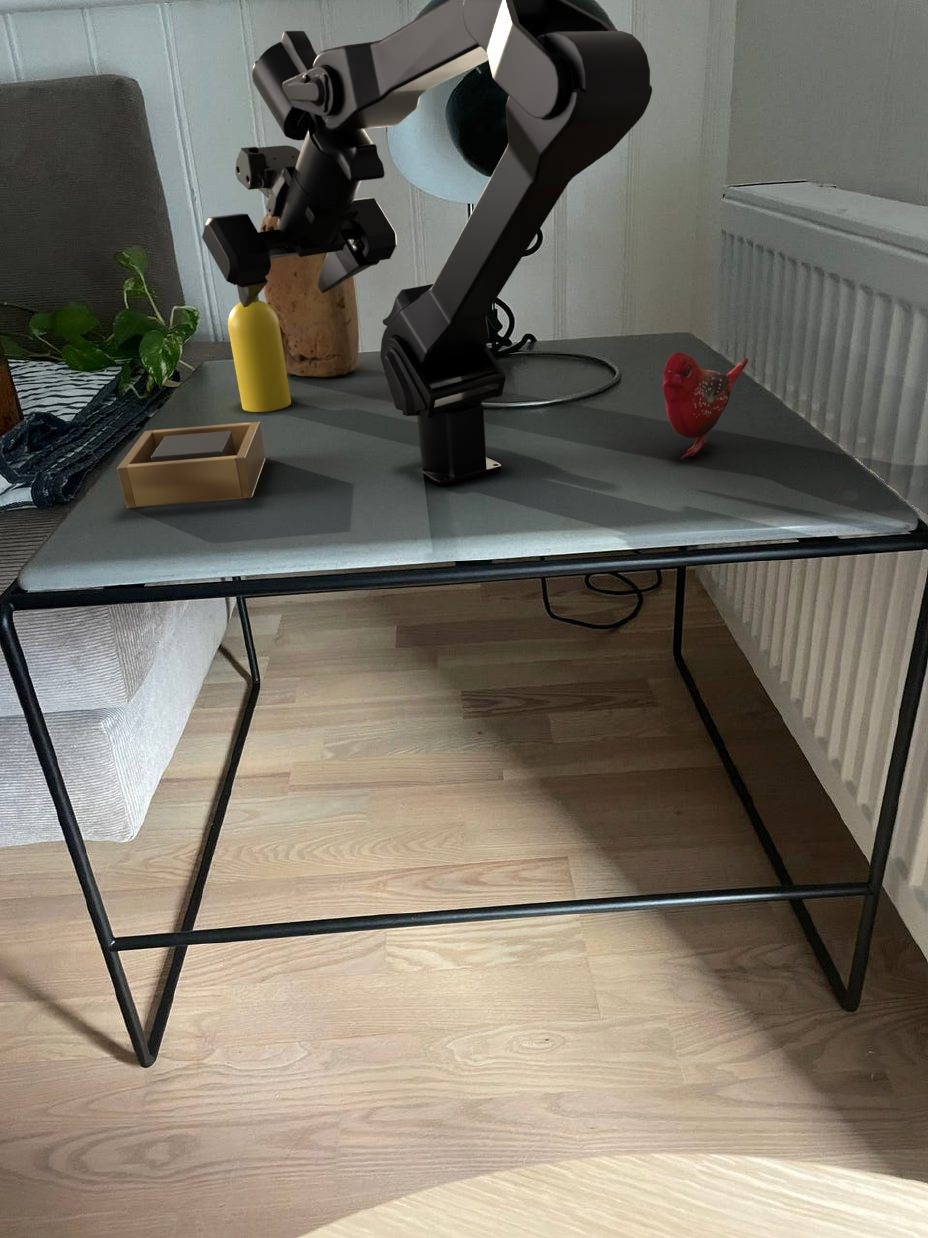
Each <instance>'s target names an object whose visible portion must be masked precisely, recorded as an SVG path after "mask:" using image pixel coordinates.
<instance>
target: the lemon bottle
mask: <svg viewBox="0 0 928 1238" xmlns="http://www.w3.org/2000/svg"><path fill="white" fill-rule="evenodd" d="M227 329H228V334H229V340H230V346H231V351H232V352H231V353H232V357H233V363H234V369H235V374H236V380H237V386H238V391H239V396H240V402H241V408H242V410H243V411H245V412H249V413H250V412H251V413H266V412H273V411H274V412H275V411H277V410H283V409H285V408H287V407H288V406H290V405H291V404H292V399H291V393H290V392H291V391H290V386H289V385H290V384H289V380H288V374H287V372H286V365H285V358H284V352H283V345H282V339H281V332H280V325H279V320H278V317H277V315H276V313H275V311H274V310H273V309H272V308H271V307H270V306H269V305H268V304H266V301H262V300H260V298H259V295H258V296H257V297H256V298H255V300H254V301H253V302H252V303H251V304H250V305H249V306H248V307H243V305H242V303H241V302H238V303H237V304H236V305H235V306H233V308H232V309H231V310H230V313H229V316H228V320H227Z"/></svg>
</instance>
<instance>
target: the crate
mask: <svg viewBox="0 0 928 1238" xmlns="http://www.w3.org/2000/svg"><path fill="white" fill-rule="evenodd" d="M223 431H231V433H232V438H233V444H234V449H235V454H236V455H235V456H223V457H211V458H199V459H187V460H175V461H163V462H152V460H151V456H152V455H153V454H154V452H155V451H156V449H157V448H158V446H159V445H160V443H161V442H162V440H163V439H164V437H165V436H174V435H186V434H199V433H211V432H223ZM265 461H266V452H265V445H264V440H263V435H262V429H261V423H260V421H251V422H250V421H249V422H238V423H225V424H212V425H202V426H201V425H200V426H189V427H176V428H175V427H174V428H165V429H164V428H163V429H152V430H151V429H149V430H145V431H143V433H142V435H141V436H140V437H139V439H138V440H137V441H136V442H135V443H134V445H133V447H132V448H131V449H130V451H129V452H128V453H127V454H126V456H125V457H124V458H123V459H122V461H121V462H120V463H119V465H118V466H117V468H116V469H117V475H118V479H119V482H120V486H121V487H120V488H121V490H122V494H123V498H124V502H125V507H126V509H130V508H143V507H144V508H145V507H154V506H168V505H178V504H189V503H190V504H191V503H203V502H211V501H224V500H225V501H226V500H236V499H237V500H239V499H249V498H253V496H254V493H255V489H256V487H257V483H258V481H259V478H260V475H261V473H262V469H263V467H264V463H265Z"/></svg>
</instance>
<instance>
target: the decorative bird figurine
mask: <svg viewBox="0 0 928 1238" xmlns="http://www.w3.org/2000/svg"><path fill="white" fill-rule="evenodd" d="M748 362H749V357H748V358H744V359H743V360H742V361H740V362H739V363H738V364H737V365H736V366H735V367H734V368H732V369H731V370H730V371H729V372H728V373H726V374H724V373H722V372H720V371H717V370H712V369H702V368H700V367H699V366H700V365H698V363H697V362H696V359H694V357H692V355H691V356H690V355H689V354H688V353H684V352H680V351H679V352H678V351H676V352H674V353H672V354H670V356H669V357H668V359H667V361H666V363H665V365H664V369H663V374H662V383H663V384H662V390H663V396H664V402H665V411H666V414H667V419H668V421H669V423H670V425H671V427H672V428H673V430H674V431H675V432H676V433H677V434H679V435H680V436H682V437H684V438H689V439H695V438H696V440H695V442H693V445H692V446H691V447H690V448H688V449H687V451H686V453H684V454H683V455H682V456H681V458H680V460H682V459H684V458H687V457H694V456H695V455H696V454H697V453H698V452H699V451H700V450H702V449H703V448H704V445H707V444H708V443H707V441H706V440H704V438H705V436H706V435H707V433H709V432H710V431H712V429H714V427H715V426H716V425H717V423H718V421H719V419H720V418H721V416H722V413H723V412H724V411H725V409H726V407H727V406H728V403H729V400H730V396H731V392H732V388H733V386H734V384H735V382H736V380H737V379H738V378H739V376H740V375H741V373H742V372H743V370H744V369H745V367H746V366H747V364H748Z"/></svg>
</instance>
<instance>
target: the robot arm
mask: <svg viewBox="0 0 928 1238" xmlns="http://www.w3.org/2000/svg"><path fill="white" fill-rule="evenodd" d="M648 58H649V57H648V53H646V51H645V49H644V47H643V44H642V42H641V41H639V40H638V39H637V38H636V37H635V36H634V35H633V34H632V33H629V32H626V31H623V30H614V29H613V28H612V27H611V26H610V25H608V24H607V22H605V21H603V20H602V19H600V18H599V17H597V16H595V15H593V14H591V13H590V12H588V11H586V10H585V9H582V8H581V7H578V6H577V5H575V4H573V3H572V2H569V1H567V0H446V1H444V2H442V3H441V4H439V5H437V6H435V7H434V8H432V9H431V10H429V11H427V12H426V13H424V14H422V15H420V16H419V17H417V18H415V19H414V20H412V21H411V22H408V23H407V24H406V25H404V26H402V27H400V28H399V29H397V30H396V31H394V32H392V33H391V34H389V35H387V36H385V37H384V38H382V39H379V40H374V41H368V42H362V43H355V44H354V43H352V44H346V45H345V44H344V45H341V46H336V47H331V48H327V49H324V50H322V51H320V52H319V53H318V54H317V53H316V51H315V49H314V47H313V44H312V42H311V40H310V38H309V36H308V35H307V34H306V32H305V31H304V30H284V31H283V34H282V37H281V40H280V41H279V42H277V43H275V44H273V45H271V46H270V47H268V49H266V50H265V51H264V52H263V53H262V54H261V55H260V56H259V58H258V60H256V61H255V62H254V63H253V67H252V71H251V77H252V83H253V84H254V86H255V88H256V89H257V91H258V93H259V94H260V96H261V98H262V99H263V101H264V103H265V104H266V106H267V108H268V109H269V111H270V113H271V114H272V116H273V118H274V120H275V121H276V123H277V124H278V126H279V128H280V130H281V131H282V133H283V134H284V136H285V138H288V139H290V140H293V141H303V143H302V147H301V149H300V150H299V148H296V147H295V146H292V145H286V144H285V145H273V146H271V145H270V146H262V147H261V146H260V147H257V146H249V147H248V146H247V147H240V149H239V151H238V154H237V157H236V160H235V177H236V179H237V181H238V182H239V183H240V184H242V186H244V187H245V188H246V189H247V190H248V191H251V190H258V191H259V192H260V193H262V194H263V195H264V197H266V199H267V202H266V206H265V209H266V210H267V212H268V214H269V213H270V215H271V217H277V219H278V223H277V227H278V230H271V231H264V232H260V231H258V229H257V228H256V226H255V224H254V222H253V221H252V219H251V217H250V216H249V213H241V212H240V213H234V214H225V215H217V216H210V217H207V219H206V221H205V223H204V227H203V231H202V235H201V239H202V240H203V242H204V244H205V246H206V247H207V249H208V251H209V253H210V255H211V257H212V258H213V260H214V262H215V263H216V265H217V267H218V269H219V271H220V272H221V274H222V276H223V277H224V280H225V281H226V283H230V284H231V285H233V286H236V288H237V294H238V298H239V301H240V302H241V303H242V305H243V307H248V306H249V305H250V304H251V303H252V302H253V301H254V300H255V298H256V297H257V296H258V297H259V294H260V293H261V292H262V291H263V290H264V289H263V288H264V286H265V285H266V284H267V282H268V280H267V279H266V277H265V276H267V275H268V274H269V272H270V269H271V261H270V259H271V258H278V257H284V256H291V255H297V254H298V255H299V257H304V256H310V255H317V254H323V253H327V256H326V259H325V261H324V264H323V267H322V270H321V272H320V276H319V280H318V284H317V285H318V288H319V290H320V292H321V293H325V292H327V291H329V290H330V289H332V288H334V287H335V286H337V285H338V284H340V283H342V282H343V281H345V280H347V279H349V278H350V277H352V276H353V277H355V275H358V274H359V273H362V272H363V271H365V270H367V269H368V268H371V267H372V266H377V265H379V263H380V261H386V260H390V259H391V258H392V255H393V254H394V252H395V249H396V248H397V245H398V235H397V232H396V231H395V229H394V228H393V226H392V224H391V222H390V221H389V219H388V218H387V216H386V214H385V212H384V211H383V209H382V207H381V206H380V204H379V202H378V201H377V200H376V198H375V197H361V198H355V197H356V194H357V193H358V190H359V188H360V185H361V183H362V182H363V181H370V180H371V181H372V180H379V179H383V178H385V175H386V171H385V167H384V163H383V160H382V159H381V158H380V156H379V152H378V146H377V144H375V143H373V141H372V140H371V138H370V137H369V135H368V134H367V132H366V130H365V129H379V128H391V127H396V126H398V125H399V124H401V122H403V121H404V120H405V119H407V117H409V116H410V115H411V114H412V113H413V112H414V111H416V110H417V109H418V106H419V104H420V100H421V96H423V94H425V93H426V92H427V91H428V90H430V89H432V88H434V87H436V86H439V85H441V84H442V83H445V82H446V81H448V80H451V79H453V78H455V77H457V76H459V75H461V74H463V73H465V72H467V71H469V70H472V69H473V68H475V67H477V66H479V65H481V64H483V63H486V62H487V61H488V64H489V68H490V72H491V73H490V74H491V75H492V76H491V77H492V79H493V80H494V82H495V83H496V84H497V85H498V86H499V87H500V88H501V89H502V90H503V91H504V92H505V93H506V94H507V95H508V98H507V101H506V103H505V115H506V116H505V117H506V118H505V119H506V128H507V129H506V130H507V138H508V139H507V140H508V141H507V142H508V143H507V146H506V148H505V150H504V152H503V154H502V155H501V157H500V160H499V161H498V163H497V164H496V167H495V168H494V170H493V173H492V174H491V176H490V177H489V180H488V182H487V184H486V185H485V187H484V189H483V191H482V193H481V195H480V196H479V199H478V200H477V202H476V203H475V206H474V208H473V210H472V211H471V214H470V215H469V218H468V219H467V221H466V223H465V225H464V227H463V229H462V231H460V232H461V233H460V234H459V235H458V238H457V240H456V241H455V243H454V245H453V247H452V249H451V250H450V253H449V254H448V256H447V258H446V259H445V262H444V264H443V266H442V268H441V270H440V271H439V273H438V275H437V277H436V279H435V281H434V282H433V283H428V284H427V283H426V284H423V285H418V286H413V287H408V288H407V287H406V288H403V289H401V290H400V292H399V293H398V294H397V295H396V297H395V299H394V303H393V306H392V309H391V310H390V313H389V314H388V316H387V317H385V318H384V319H382V324H383V325H384V326H386V327H385V329H384V331H383V333H382V337H381V342H380V356H379V357H380V360H381V361H380V362H381V365H382V368H383V372H384V375H385V378H386V381H387V384H388V388H389V391H390V394H391V398H392V400H393V405H394V408H395V409H396V410H399V411H401V412H402V416H405V417H416V418H417V428H418V429H417V430H418V437H419V438H418V440H419V451H420V458H421V459H420V461H421V467H422V476H423V478H424V479H425V480H428V481H429V482H430V483H431V482H432V483H433V484H435V485H437V486H440V487H443V486H448V485H452V484H455V483H459V482H463V481H466V480H470V479H474V478H478V477H482V476H485V475H490V474H492V473H496V472H501V470H502V464H501V463H499V462H497V461H495V460H492V459H490V458H488V457H487V450H486V429H485V428H486V427H485V412H484V411H485V410H484V408H485V407H484V405H483V401H486V400H489V399H493V398H500V397H502V396H503V392H504V387H505V383H506V373H505V372H504V371H503V369H502V367H501V365H500V364H499V362H498V361H497V359H496V358H495V356H494V355H493V353H492V351H491V350H490V348H489V347H488V343H489V339H490V331H489V324H488V318H487V317H488V316H487V315H488V312H489V311H490V309H491V308H492V306H493V305H494V303H495V302H496V300H497V298H498V297H499V295H500V293H501V292H502V290H503V289H504V287H505V286H506V284H507V282H508V281H509V279H510V278H511V276H512V275H513V272H514V271H515V270H516V268H517V266H518V265H519V263H520V261H522V259H523V257H524V255H525V253H526V251H527V250H528V249H529V247H530V245H531V244H532V242H533V240H534V239H535V237H536V236H537V234H538V232H539V231H540V229H541V228H542V226H543V225H544V224H545V222H546V221H547V218H548V217H549V216H550V213H551V212H552V211H553V209H554V207H555V205H556V204H557V202H558V200H559V199H560V197H561V196H562V194H563V192H565V190H566V188H567V186H568V185H569V183H570V182H571V181H572V180H573V179H574V178H575V177H576V176H577V175H579V174H580V173H582V172H583V171H584V170H586V169H587V168H589V167H590V166H591V165H593V164H594V163H596V162H597V161H599V160H600V159H601V158H603V157H604V156H605V155H608V154H609V153H610V152H611V151H612V150H614V148H616V146H617V145H618V144H619V143H620V142H621V141H622V140H623V138H624V137H625V136H626V135H627V134H628V133H629V132H630V131H631V130H632V129H633V127H635V125H636V124H637V123H638V122H639V121H640V120H641V119H642V117H643V116H644V114H645V113H646V110H647V108H648V106H649V104H650V100H651V99H652V98H651V97H652V93H653V87H652V85H651V68H650V63H649V59H648ZM240 302H239V303H240ZM457 378H460V380H458V381H455V382H452V383H448V384H444V385H440V386H437V387H434V388H433V387H431V386H432V385H435V384H439V383H442V382H446V381H451V380H453V379H457Z"/></svg>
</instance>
